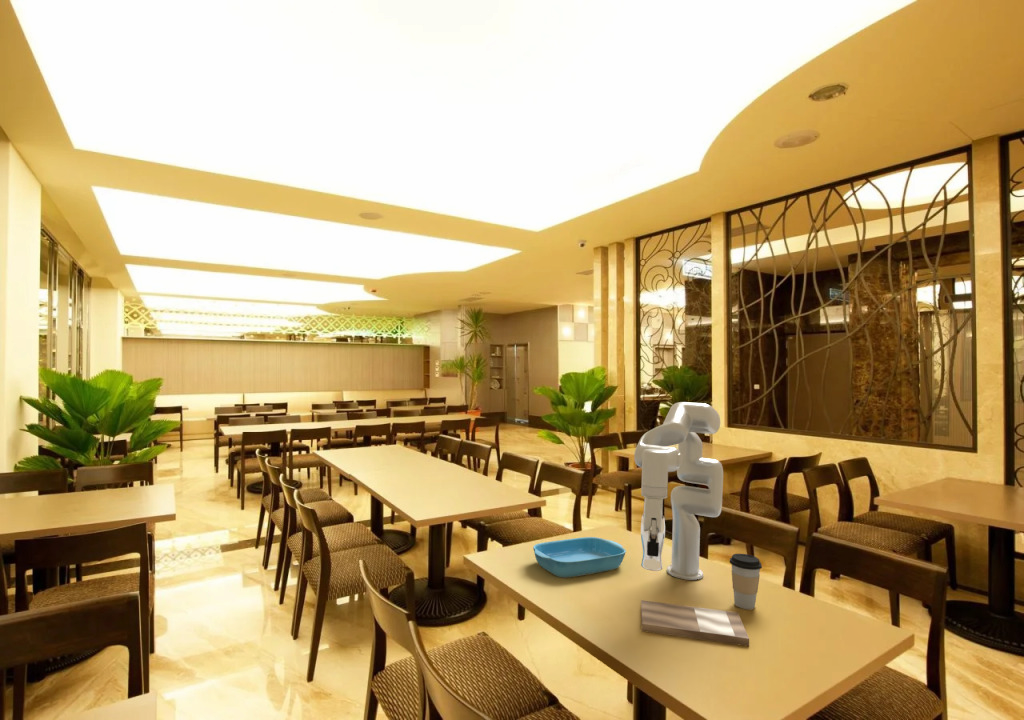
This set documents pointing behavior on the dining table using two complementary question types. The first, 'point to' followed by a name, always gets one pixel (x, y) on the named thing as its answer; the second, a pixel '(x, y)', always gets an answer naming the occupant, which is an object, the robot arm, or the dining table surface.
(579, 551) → the casserole dish
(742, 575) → the coffee cup
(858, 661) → the dining table surface
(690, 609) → the cutting board
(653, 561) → the beer glass
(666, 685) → the dining table surface
